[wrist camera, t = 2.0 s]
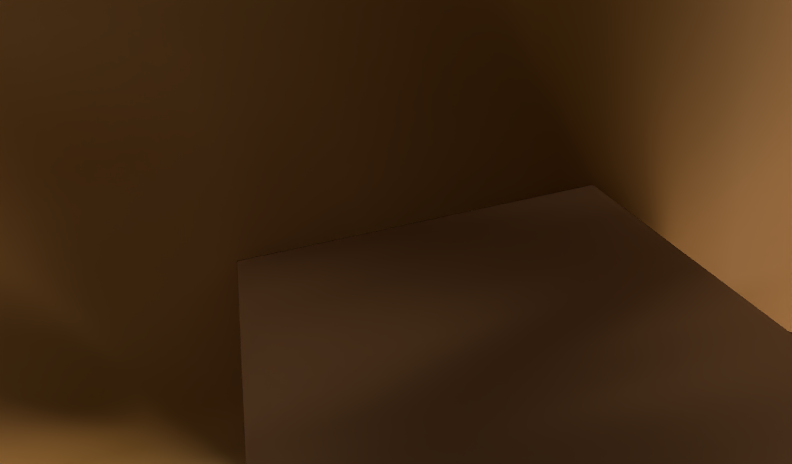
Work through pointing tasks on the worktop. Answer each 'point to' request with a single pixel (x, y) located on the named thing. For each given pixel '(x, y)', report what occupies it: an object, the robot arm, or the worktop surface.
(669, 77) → the worktop surface
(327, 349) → the walnut cube
